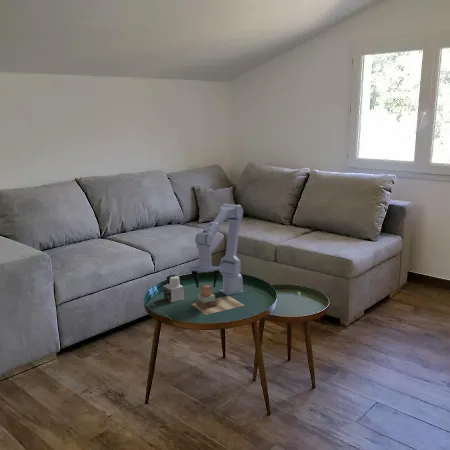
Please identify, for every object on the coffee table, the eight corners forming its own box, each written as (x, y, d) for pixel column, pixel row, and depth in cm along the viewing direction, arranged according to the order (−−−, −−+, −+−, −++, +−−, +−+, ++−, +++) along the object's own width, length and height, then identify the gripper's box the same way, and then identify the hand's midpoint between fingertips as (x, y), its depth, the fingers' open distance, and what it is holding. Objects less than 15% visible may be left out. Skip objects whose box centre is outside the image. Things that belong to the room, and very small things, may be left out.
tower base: (209, 301, 231) (209, 296, 230) (216, 305, 225) (216, 300, 224) (196, 304, 227) (196, 299, 227) (203, 309, 221) (203, 303, 221)
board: (228, 296, 237) (228, 295, 237) (244, 306, 224) (244, 305, 224) (191, 305, 228) (191, 304, 228) (206, 315, 215) (206, 314, 215)
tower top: (209, 296, 229) (209, 291, 229) (215, 300, 224) (215, 295, 224) (197, 299, 226) (197, 294, 226) (203, 303, 221) (203, 298, 221)
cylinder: (208, 292, 228) (208, 284, 227) (213, 295, 224) (213, 287, 223) (199, 294, 226) (198, 286, 225) (203, 297, 222) (203, 289, 221)
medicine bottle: (163, 299, 236) (162, 275, 233) (176, 296, 240) (175, 272, 237) (171, 303, 230) (170, 279, 228) (184, 300, 234) (183, 276, 232)
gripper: (188, 261, 217) (189, 290, 220) (220, 260, 217) (221, 289, 220) (189, 256, 224) (190, 284, 227) (221, 256, 224) (221, 284, 227)
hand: (206, 286), depth 224 cm, fingers open, 7 cm apart
